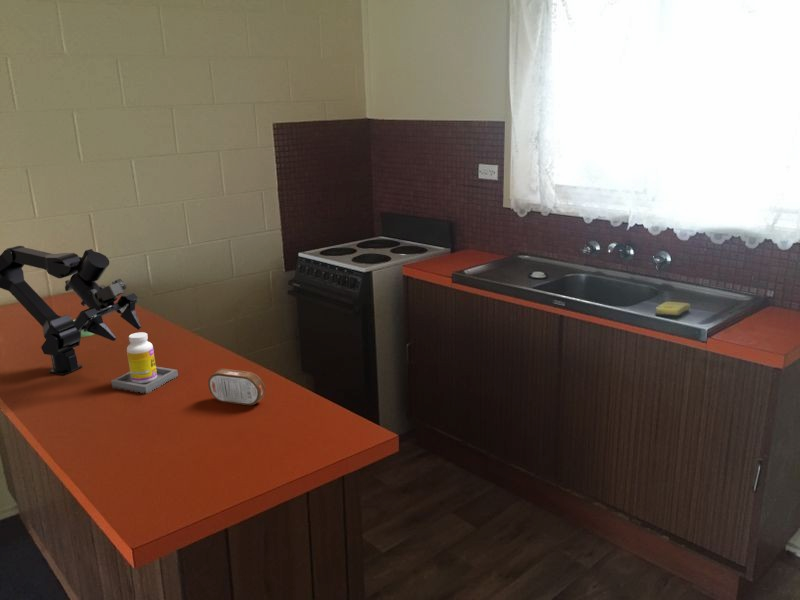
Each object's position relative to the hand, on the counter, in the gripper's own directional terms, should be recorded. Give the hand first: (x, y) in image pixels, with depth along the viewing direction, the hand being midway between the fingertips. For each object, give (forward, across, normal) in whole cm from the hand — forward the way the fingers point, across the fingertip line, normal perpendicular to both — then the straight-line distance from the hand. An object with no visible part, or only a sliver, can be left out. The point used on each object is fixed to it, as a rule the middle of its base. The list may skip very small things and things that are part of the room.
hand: (127, 334), depth 182 cm
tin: (+35, -3, -15) cm, 38 cm away
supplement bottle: (+12, 0, +7) cm, 13 cm away
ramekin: (-22, +27, +42) cm, 55 cm away
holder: (+12, 0, +7) cm, 14 cm away
